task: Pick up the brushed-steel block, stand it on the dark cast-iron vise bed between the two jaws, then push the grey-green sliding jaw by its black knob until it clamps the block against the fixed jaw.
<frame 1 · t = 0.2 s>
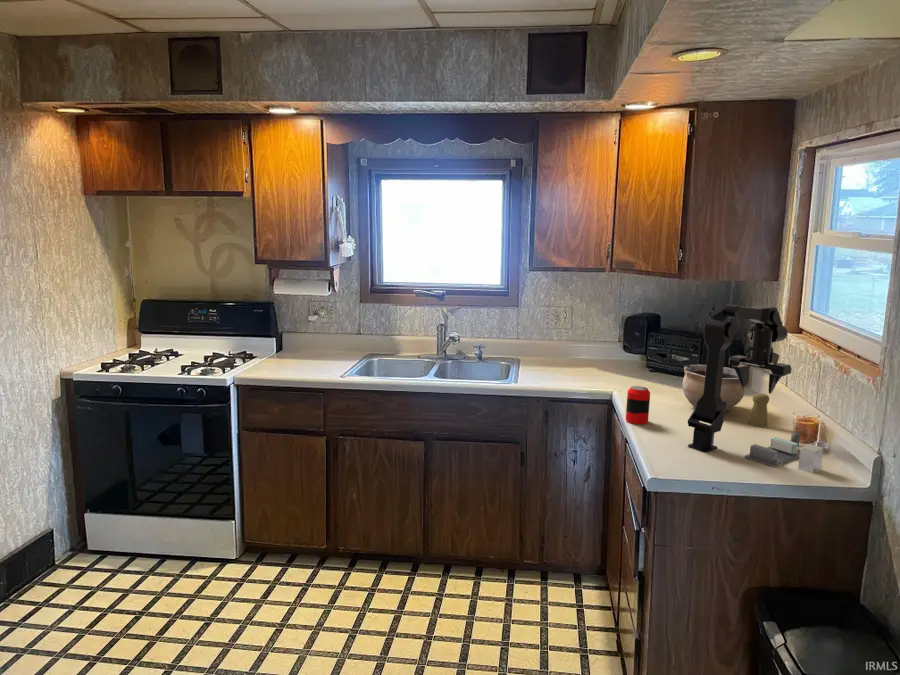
hand: (756, 390, 226), 15 cm above the worktop, fingers open, 9 cm apart
ceramic bowl: (711, 409, 254), on the worktop
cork: (758, 425, 237), on the worktop
soda can: (636, 421, 238), on the worktop
sliding jaw: (789, 441, 210), point 3 cm above the worktop, slide at 0.0 cm
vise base: (773, 457, 205), on the worktop
steel block: (809, 469, 196), on the worktop
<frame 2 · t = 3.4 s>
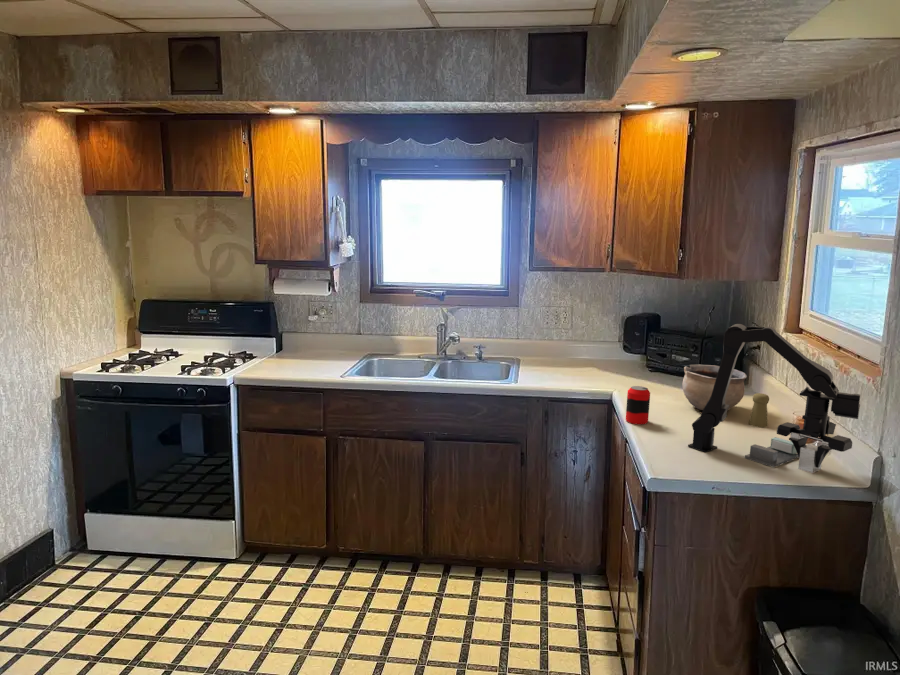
hand: (809, 464, 196), 1 cm above the worktop, fingers closed on steel block, 4 cm apart
steel block: (809, 469, 196), on the worktop, touching gripper
everything else where it was.
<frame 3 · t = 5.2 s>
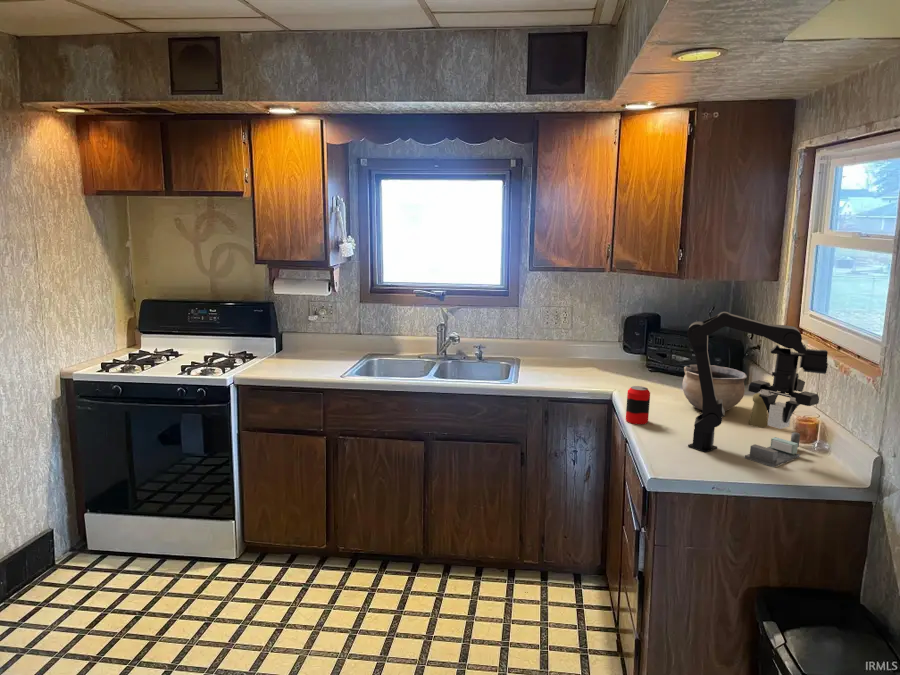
hand: (778, 420, 202), 12 cm above the worktop, fingers closed on steel block, 4 cm apart
steel block: (778, 425, 203), point 10 cm above the worktop, touching gripper
everything else where it was.
when the fingers open (3 cm above the worktop, at t = 7.2 s): steel block stays where it is, resting on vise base.
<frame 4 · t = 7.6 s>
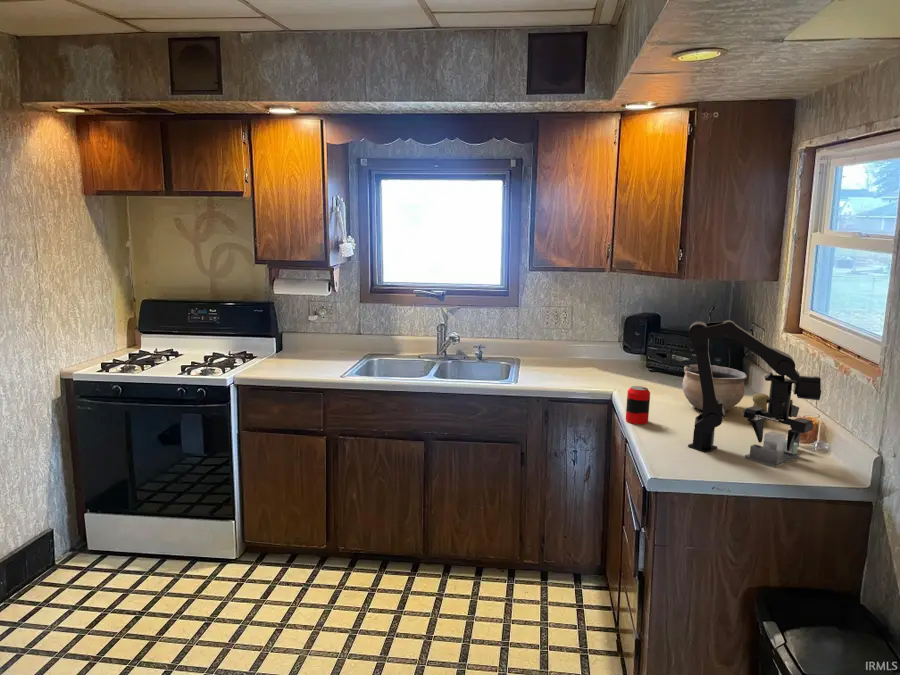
hand: (774, 446, 204), 3 cm above the worktop, fingers open, 8 cm apart
steel block: (773, 454, 205), point 1 cm above the worktop, touching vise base
everything else where it was.
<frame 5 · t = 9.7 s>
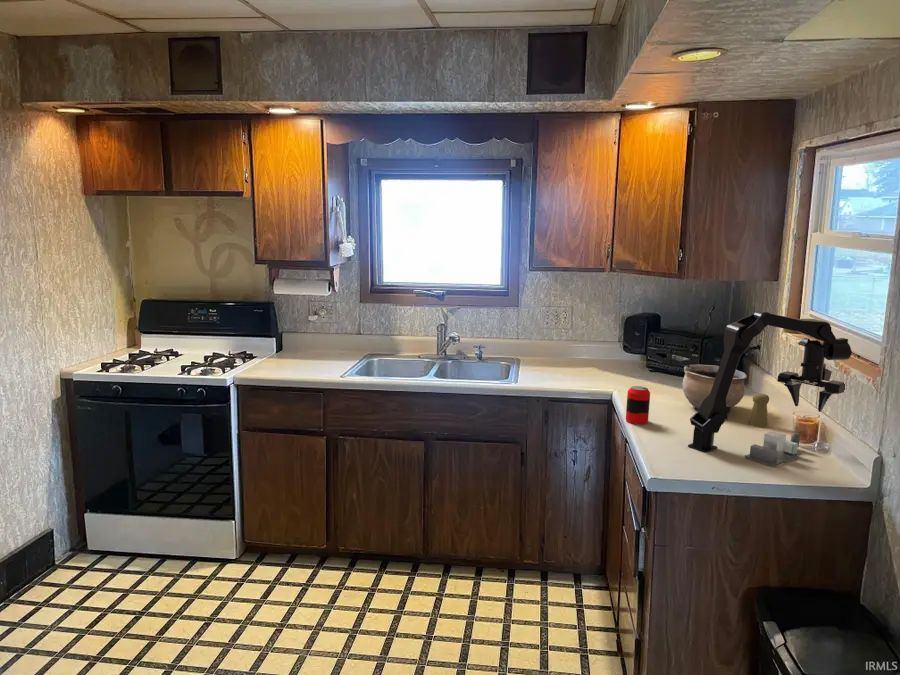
hand: (808, 408, 214), 12 cm above the worktop, fingers open, 7 cm apart
nothing on the worktop moved.
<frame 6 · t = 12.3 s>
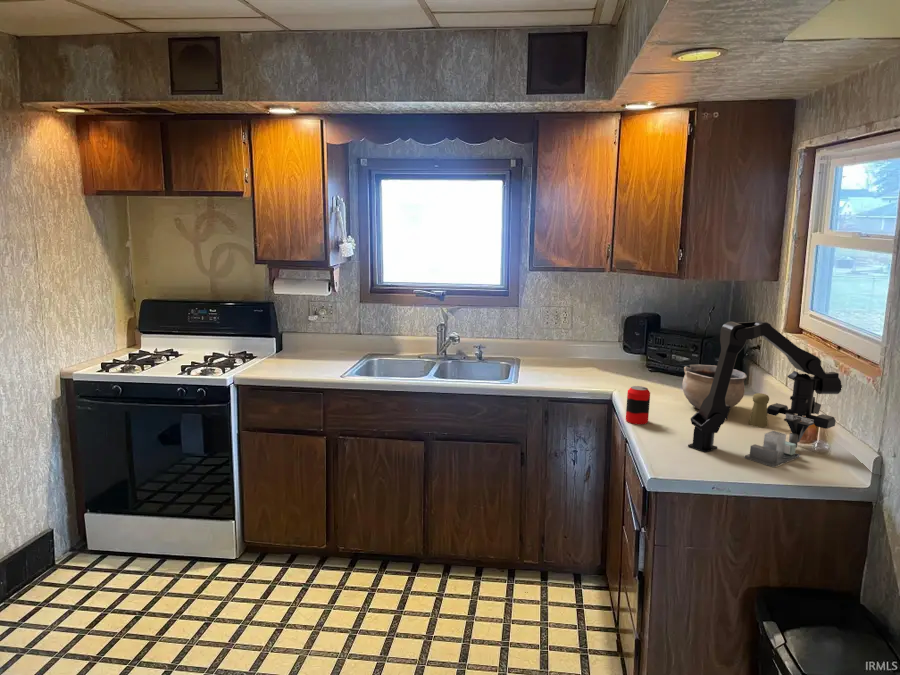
hand: (797, 441, 213), 2 cm above the worktop, fingers closed
sliding jaw: (787, 442, 209), point 3 cm above the worktop, slide at 1.2 cm, touching gripper
everything else where it was.
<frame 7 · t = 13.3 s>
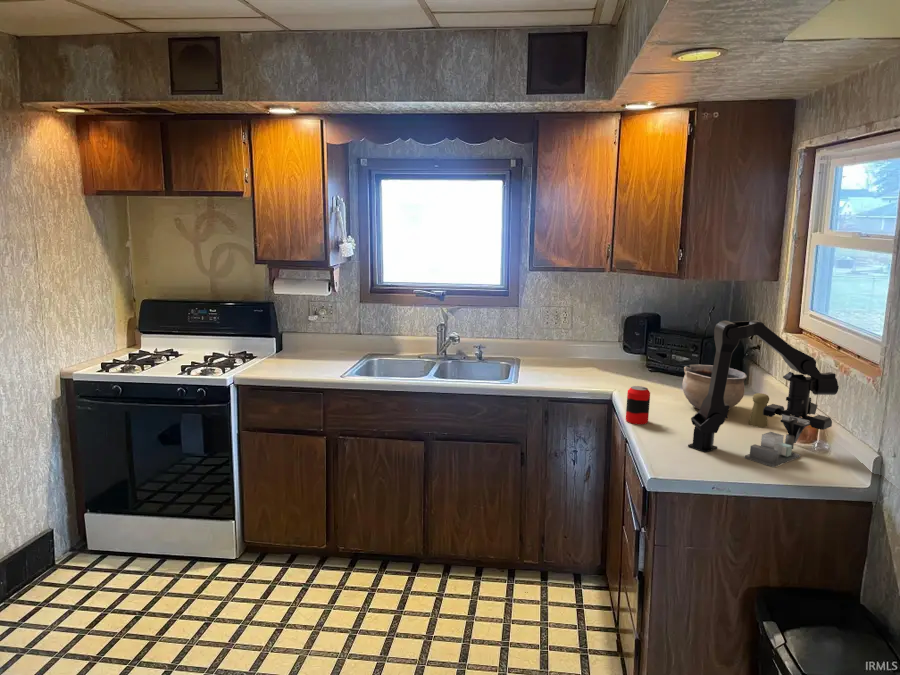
hand: (793, 442, 212), 2 cm above the worktop, fingers closed, pressing on sliding jaw
sliding jaw: (783, 444, 208), point 3 cm above the worktop, slide at 3.5 cm, touching gripper, steel block
steel block: (770, 455, 204), point 1 cm above the worktop, touching sliding jaw, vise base
everything else where it was.
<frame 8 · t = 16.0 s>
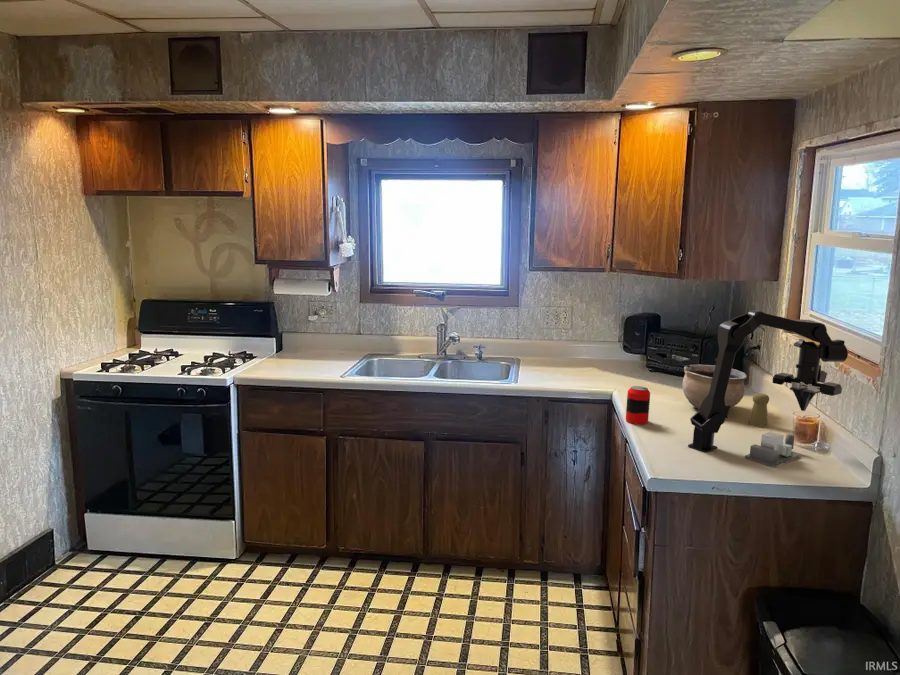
hand: (803, 410, 212), 12 cm above the worktop, fingers closed
sliding jaw: (783, 444, 208), point 3 cm above the worktop, slide at 3.5 cm, touching steel block
everything else where it was.
at the end: steel block inside the target area (0.9 cm from its centre), point 0.8 cm above the worktop; steel block tilted 0°; sliding jaw slide at 3.5 cm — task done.
